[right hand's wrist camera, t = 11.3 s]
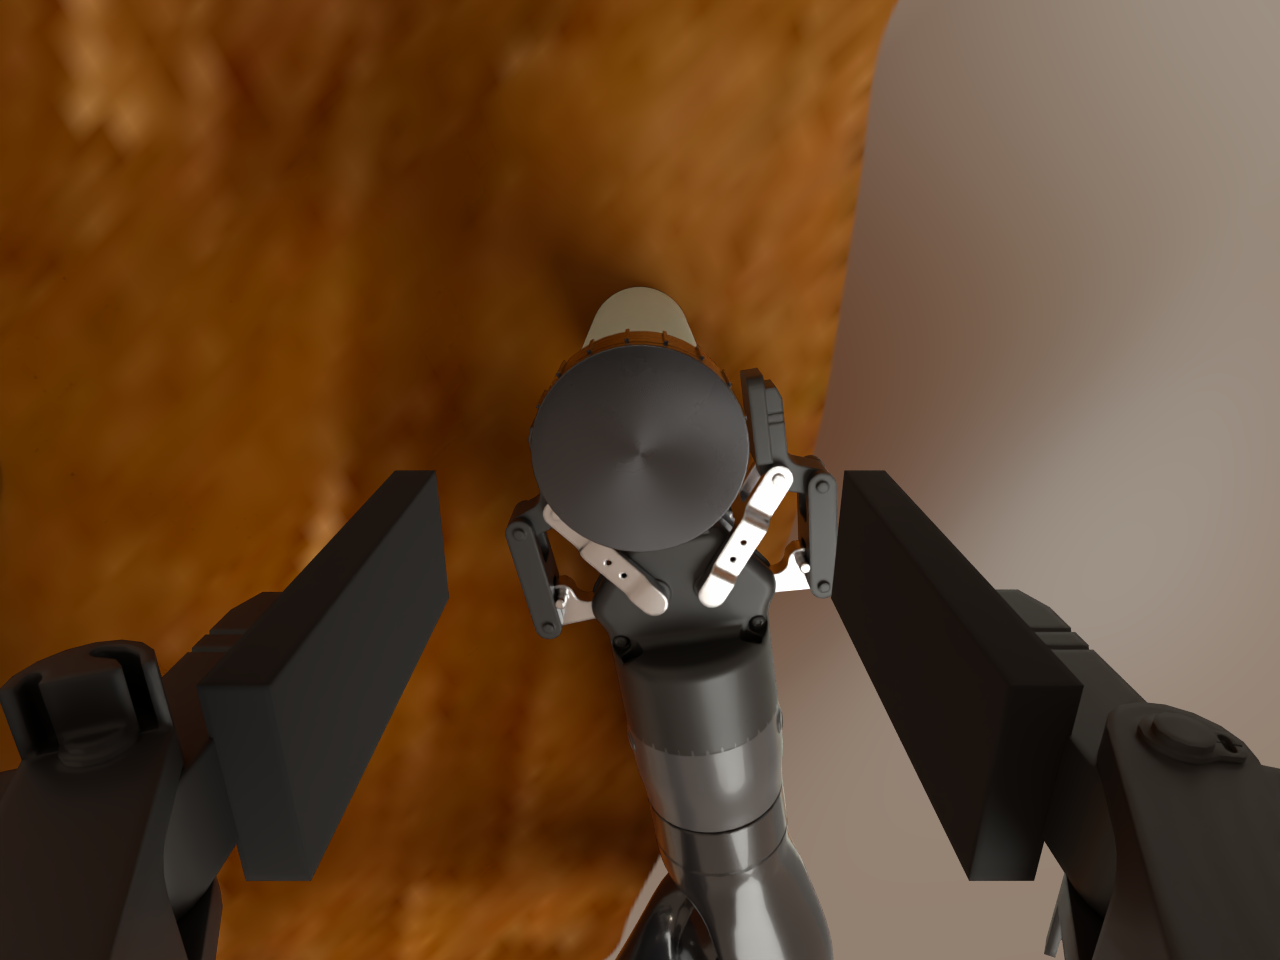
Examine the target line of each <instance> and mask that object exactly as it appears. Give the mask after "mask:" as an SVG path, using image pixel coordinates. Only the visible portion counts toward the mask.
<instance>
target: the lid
mask: <svg viewBox="0 0 1280 960" xmlns="http://www.w3.org/2000/svg"><path fill="white" fill-rule="evenodd" d="M730 386H732V384H731V382H730V380H729V378H728V376H727V374H726V372H725V371H724V370H722V371H720V369H719V368H718V367H717V365H716V364H715V363H714V362H713V361H712V360H711V359H710V358H709V357H708V356H707V355H705V354H704V353H703V352H702V350H701V348H700V346H698V345H696V347H695V346H693V345H691V344H689V343H688V342H686V341H684V340H681V339H679V338H676V337H674V336H671V335H667V331H663V332H662V333H659V332H651V331H630V329H626V330H625V332H622V333H617V334H613V335H610V336H606V337H604V338H601V339H599V340H597V341H595V340H594V339H592V340H590V343H589V345H587V346H586V347H584V348H582V349H581V350H580V351H578V352H577V353H576V354H575V355H573V356H572V357H571V358H570V359H569V360H568V361H567V362H566V361H565V360H564V361H563V362H562V364H561V366H560V368H559V370H558V372H557V374H556V376H555V378H554V380H553V381H552V383H551V385H550V387H549V389H548V391H546V390H545V391H544V393H543V395H542V397H541V398H540V400H539V402H538V404H537V407H536V408H538V412H537V415H536V418H535V420H534V425H533V430H532V435H531V439H530V444H531V462H532V466H533V471H534V475H535V478H536V481H537V484H538V487H539V489H540V491H541V493H542V495H543V497H544V499H545V500H546V502H547V503H548V505H549V506H550V508H551V509H552V510H553V512H554V513H555V514H556V515H557V516H558V517H559V518H560V519H561V520H562V521H563V522H564V523H565V524H566V525H567V526H568V527H570V528H571V529H572V530H573V531H575V532H576V533H578V534H579V535H581V536H582V537H584V538H586V539H588V540H590V541H592V542H594V543H597V544H599V545H602V546H605V547H608V548H612V549H616V550H621V551H630V552H651V551H659V550H664V549H668V548H672V547H675V546H678V545H681V544H683V543H686V542H688V541H690V540H692V539H694V538H696V537H698V536H699V535H701V534H702V533H704V532H705V531H706V530H708V529H709V528H711V527H712V526H713V525H714V524H715V523H716V522H717V521H718V520H720V519H721V517H722V516H723V515H724V514H725V513H726V512H727V510H728V509H729V508H730V506H731V505H732V503H733V502H734V500H735V499H736V497H737V495H738V493H739V491H740V489H741V487H742V484H743V481H744V478H745V475H746V472H747V467H748V461H749V454H750V452H749V435H748V429H747V425H746V421H745V420H747V416H746V414H745V412H744V410H743V408H742V406H741V404H740V402H739V401H737V399H736V397H735V395H734V393H733V391H732V389H731V387H730Z"/></svg>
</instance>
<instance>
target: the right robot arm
mask: <svg viewBox="0 0 1280 960" xmlns="http://www.w3.org/2000/svg"><path fill="white" fill-rule="evenodd" d="M448 599H449V594H448V584H447V575H446V565H445V556H444V546H443V537H442V527H441V518H440V508H439V499H438V489H437V480H436V471H394V472H393V474H392V475H391V476H390V477H389V478H388V479H387V480H386V481H385V482H384V483H383V484H382V485H381V487H380V488H379V489H378V490H377V491H376V492H375V493H374V494H373V495H372V496H371V497H370V498H369V499H368V501H367V502H366V503H365V504H364V505H363V506H362V507H361V508H360V509H359V510H358V511H357V512H356V513H355V515H354V516H353V517H352V518H351V519H350V520H349V521H348V522H347V523H346V524H345V525H344V526H343V527H342V529H341V530H340V531H339V532H338V533H337V534H336V535H335V536H334V537H333V538H332V539H331V540H330V541H329V543H328V544H327V545H326V546H325V547H324V548H323V549H322V550H321V551H320V552H319V553H318V554H317V555H316V557H315V558H314V559H313V560H312V561H311V562H310V563H309V564H308V565H307V566H306V567H305V568H304V569H303V571H302V572H301V573H300V574H299V575H298V576H297V577H296V578H295V579H294V580H293V581H292V582H291V584H290V585H289V586H288V587H287V588H286V589H285V590H284V591H283V592H262V593H260V594H258V595H256V596H255V597H253V598H251V599H249V600H247V601H246V602H244V603H242V604H240V605H239V606H237V607H235V608H233V609H231V610H230V611H229V612H228V613H227V614H226V615H225V616H224V617H223V618H222V619H221V620H220V621H219V622H218V623H217V624H216V625H215V626H214V627H213V628H212V629H211V630H210V634H209V635H205V636H204V637H203V638H202V639H201V640H200V641H199V642H198V643H197V644H196V645H195V646H194V647H193V648H192V652H187V653H186V654H185V655H184V656H183V657H182V658H181V659H180V660H179V661H178V662H177V663H176V664H175V665H174V666H173V667H172V668H171V669H170V670H169V671H168V672H167V673H166V674H165V675H164V676H163V677H161V673H160V670H159V666H158V662H157V659H156V655H155V651H154V649H152V648H150V647H149V646H147V645H146V644H144V643H143V642H136V641H128V640H114V641H104V642H95V643H91V644H87V645H83V646H79V647H76V648H72V649H68V650H65V651H62V652H60V653H57V654H55V655H52V656H50V657H47V658H45V659H43V660H40V661H38V662H36V663H34V664H32V665H31V666H29V667H27V668H26V669H24V670H22V671H21V672H19V673H17V674H16V675H14V676H12V677H11V678H10V679H9V680H8V681H7V682H6V683H5V684H4V685H3V686H2V687H1V688H0V703H1V705H2V708H3V711H4V713H5V716H6V719H7V721H8V724H9V727H10V729H11V732H12V735H13V737H14V740H15V743H16V746H17V748H18V751H19V754H20V756H21V759H22V761H21V763H20V765H19V767H18V769H14V770H9V771H4V772H0V960H215V959H216V951H217V944H218V937H219V929H220V922H221V914H222V907H223V906H222V899H221V892H220V888H219V884H218V880H217V877H216V875H217V873H218V872H219V870H220V869H221V867H222V865H223V864H224V862H225V861H226V859H227V858H228V856H229V854H230V853H231V851H232V850H233V848H234V847H235V845H236V844H237V848H238V852H239V856H240V859H241V863H242V867H243V871H244V875H245V879H246V881H311V879H312V877H313V875H314V873H315V871H316V869H317V867H318V865H319V863H320V861H321V859H322V857H323V855H324V853H325V851H326V849H327V847H328V844H329V842H330V840H331V838H332V836H333V834H334V832H335V830H336V828H337V826H338V824H339V822H340V820H341V818H342V816H343V814H344V812H345V810H346V808H347V806H348V804H349V801H350V799H351V797H352V795H353V793H354V791H355V789H356V787H357V785H358V783H359V781H360V779H361V777H362V775H363V773H364V771H365V769H366V767H367V765H368V763H369V761H370V759H371V756H372V754H373V752H374V750H375V748H376V746H377V744H378V742H379V740H380V738H381V736H382V734H383V732H384V730H385V728H386V726H387V724H388V722H389V720H390V718H391V716H392V713H393V711H394V709H395V707H396V705H397V703H398V701H399V699H400V697H401V695H402V693H403V691H404V689H405V687H406V685H407V683H408V681H409V679H410V677H411V675H412V673H413V670H414V668H415V666H416V664H417V662H418V660H419V658H420V656H421V654H422V652H423V650H424V648H425V646H426V644H427V642H428V640H429V638H430V636H431V634H432V632H433V630H434V628H435V625H436V623H437V621H438V619H439V617H440V615H441V613H442V611H443V609H444V607H445V605H446V603H447V601H448ZM831 599H832V601H833V603H834V605H835V607H836V609H837V611H838V613H839V615H840V617H841V619H842V621H843V623H844V625H845V627H846V630H847V632H848V633H849V636H850V638H851V640H852V642H853V644H854V646H855V648H856V650H857V652H858V654H859V656H860V658H861V660H862V662H863V664H864V666H865V668H866V670H867V673H868V675H869V677H870V679H871V681H872V683H873V685H874V687H875V689H876V691H877V693H878V695H879V697H880V699H881V701H882V703H883V705H884V707H885V709H886V711H887V713H888V715H889V718H890V720H891V722H892V724H893V726H894V728H895V730H896V732H897V734H898V736H899V738H900V740H901V742H902V744H903V746H904V748H905V750H906V752H907V754H908V756H909V758H910V760H911V763H912V765H913V767H914V769H915V771H916V773H917V775H918V777H919V779H920V781H921V783H922V785H923V787H924V789H925V791H926V793H927V795H928V797H929V799H930V801H931V804H932V806H933V808H934V810H935V812H936V814H937V816H938V818H939V820H940V822H941V824H942V826H943V828H944V830H945V832H946V834H947V836H948V838H949V840H950V842H951V844H952V846H953V849H954V851H955V853H956V855H957V857H958V859H959V861H960V863H961V865H962V867H963V869H964V871H965V873H966V875H967V877H968V879H969V881H1034V879H1035V875H1036V871H1037V867H1038V863H1039V859H1040V855H1041V852H1042V848H1043V844H1044V841H1045V843H1046V844H1047V846H1048V847H1049V849H1050V851H1051V852H1052V854H1053V855H1054V857H1055V858H1056V860H1057V862H1058V863H1059V865H1060V866H1061V868H1062V869H1063V871H1064V877H1063V880H1062V884H1061V888H1060V892H1059V895H1058V899H1057V902H1056V906H1055V909H1054V913H1053V917H1052V920H1051V924H1050V928H1049V931H1048V935H1047V939H1046V946H1045V952H1044V954H1046V955H1049V956H1052V957H1055V956H1056V953H1057V949H1058V946H1059V942H1060V941H1061V940H1062V942H1063V949H1064V957H1065V960H1280V769H1278V768H1273V767H1268V766H1263V765H1261V764H1260V762H1259V760H1258V759H1257V757H1256V756H1255V755H1254V754H1253V753H1252V751H1251V750H1250V749H1249V748H1248V747H1247V745H1246V744H1245V743H1244V742H1243V741H1241V740H1240V739H1239V738H1237V737H1236V736H1234V735H1233V734H1231V733H1230V732H1229V731H1227V730H1226V729H1224V728H1223V727H1222V726H1220V725H1218V724H1216V723H1213V722H1211V721H1209V720H1207V719H1205V718H1203V717H1201V716H1199V715H1196V714H1194V713H1192V712H1188V711H1185V710H1181V709H1178V708H1175V707H1171V706H1168V705H1163V704H1155V703H1147V702H1146V701H1145V700H1144V699H1143V698H1142V697H1141V696H1140V695H1139V694H1138V693H1137V692H1136V691H1135V690H1134V689H1133V688H1132V687H1131V686H1130V685H1129V684H1128V683H1127V682H1126V681H1125V680H1124V679H1122V677H1121V676H1120V675H1119V674H1117V673H1116V672H1115V671H1114V670H1113V669H1112V668H1111V667H1110V666H1109V665H1108V664H1107V663H1106V662H1105V661H1104V660H1103V659H1102V658H1101V657H1100V656H1099V655H1098V654H1097V653H1096V652H1095V651H1094V650H1089V645H1088V644H1087V643H1086V642H1085V641H1084V640H1083V639H1082V638H1081V637H1080V636H1078V634H1077V633H1075V632H1071V628H1070V627H1069V626H1068V625H1067V624H1066V623H1065V622H1064V621H1063V620H1062V619H1061V618H1060V617H1059V616H1058V615H1057V614H1056V613H1055V612H1054V611H1053V610H1052V609H1051V608H1050V607H1048V606H1047V605H1045V604H1043V603H1041V602H1039V601H1038V600H1036V599H1034V598H1032V597H1030V596H1029V595H1027V594H1025V593H1023V592H1021V591H1020V590H995V589H994V588H993V587H992V586H991V585H990V584H989V582H988V581H987V580H986V579H985V578H984V577H983V576H982V575H981V574H980V573H979V572H978V571H977V569H976V568H975V567H974V566H973V565H972V564H971V563H970V562H969V561H968V560H967V559H966V558H965V557H964V556H963V554H962V553H961V552H960V551H959V550H958V549H957V548H956V547H955V546H954V545H953V544H952V543H951V541H950V540H949V539H948V538H947V537H946V536H945V535H944V534H943V533H942V532H941V531H940V530H939V529H938V527H937V526H936V525H935V524H934V523H933V522H932V521H931V520H930V519H929V518H928V517H927V516H926V515H925V513H924V512H923V511H922V510H921V509H920V508H919V507H918V506H917V505H916V504H915V503H914V502H913V501H912V499H911V498H910V497H909V496H908V495H907V494H906V493H905V492H904V491H903V490H902V489H901V488H900V487H899V485H898V484H897V483H896V482H895V481H894V480H893V479H892V478H891V477H890V476H889V475H888V474H887V472H886V471H844V480H843V489H842V499H841V508H840V518H839V527H838V537H837V546H836V556H835V565H834V575H833V584H832V594H831Z"/></svg>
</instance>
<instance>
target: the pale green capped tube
mask: <svg viewBox="0 0 1280 960" xmlns="http://www.w3.org/2000/svg"><path fill="white" fill-rule="evenodd" d="M626 329H630V331H651V332H659V333H662V332H663V331H667V335H671V336H674V337H676V338H679V339H681V340H684V341H686V342H688V343H689V344H691V345H693V346H695V347H696V342H695V340H694V337H693V335H692V332H691V330H690V328H689V325H688V323H687V320H686V318H685V315H684V314H683V312H682V310H681V308H680V307H679V306H678V304H677V303H676V302H675V301H674V300H673V299H671V298H670V297H669V296H668V295H666V294H664V293H663V292H660V291H658V290H656V289H652V288H647V287H633V288H628V289H625V290H622V291H620V292H617V293H616V294H614V295H612V296H611V297H610V298H609V299H607V300H606V301H605V302H604V303H603V304H602V306H601V307H600V309H599V310H598V312H597V314H596V315H595V318H594V320H593V323H592V325H591V328H590V330H589V332H588V335H587V337H586V340H585V342H584V345H583V347H582V348H584V347H586V346H587V345H589V343H590V340H592V339H594V340H595V341H597V340H599V339H601V338H604V337H606V336H610V335H613V334H617V333H622V332H625V330H626Z"/></svg>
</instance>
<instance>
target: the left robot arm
mask: <svg viewBox="0 0 1280 960" xmlns="http://www.w3.org/2000/svg"><path fill="white" fill-rule="evenodd" d="M740 377H741V386H742V394H743V403H744V411H745V414H746V416H747V420H746V425H747V429H748V435H749V450H750V453H751V455H752V457H753V459H754V462H753V463H752V465H751V466H750V468H749V470H748V471H747V473H746V475H745V478H744V481H743V484H742V487H741V489H740V491H739V493H738V495H737V497H736V499H735V500H734V502H733V503H732V505H731V506H730V508H729V509H728V510H727V512H726V513H725V514H724V515H723V516H722V517H721V519H720V520H718V521H717V522H716V523H715V524H714V525H713V526H712V527H711V528H709V529H708V530H706V531H705V532H704V533H702V534H701V535H699V536H698V537H696V538H694V539H692V540H690V541H688V542H686V543H683V544H681V545H678V546H675V547H672V548H668V549H664V550H659V551H651V552H630V551H621V550H616V549H612V548H608V547H605V546H602V545H599V544H597V543H594V542H592V541H590V540H588V539H586V538H584V537H582V536H581V535H579V534H578V533H576V532H575V531H573V530H572V529H571V528H570V527H568V526H567V525H566V524H565V523H564V522H563V521H562V520H561V519H560V518H559V517H558V516H557V515H556V514H555V513H554V512H553V510H552V509H551V508H550V506H549V505H548V503H547V502H546V500H545V499H544V497H543V495H542V493H541V491H540V494H539V495H538V496H536V497H534V498H533V499H531V500H529V501H528V500H525V501H521V502H519V503H518V504H517V505H516V506H515V509H514V511H513V514H512V516H511V519H510V521H509V524H508V526H507V529H506V532H505V535H506V539H507V542H508V545H509V548H510V551H511V554H512V558H513V561H514V564H515V567H516V570H517V573H518V576H519V579H520V582H521V586H522V589H523V592H524V595H525V598H526V601H527V604H528V607H529V610H530V613H531V617H532V620H533V623H534V626H535V629H536V632H537V633H538V634H539V635H540V636H541V637H543V638H545V639H553V638H556V637H557V636H559V635H560V633H561V631H562V626H563V625H565V624H570V623H575V622H580V621H585V620H590V619H595V618H596V620H597V621H598V622H599V623H600V624H601V625H602V626H603V627H604V628H605V630H606V631H607V633H608V635H609V638H610V642H611V647H612V652H613V657H614V662H615V666H616V671H617V676H618V681H619V686H620V690H621V695H622V700H623V705H624V709H625V714H626V719H627V724H628V727H627V731H628V732H627V735H628V740H629V743H630V746H631V749H633V753H634V757H635V761H636V764H637V767H638V770H639V773H640V776H641V778H642V781H643V783H644V786H645V788H646V792H647V795H648V800H649V805H650V810H651V815H652V820H653V825H654V830H655V835H656V839H657V843H658V847H659V851H660V854H661V857H662V860H663V862H664V865H665V867H666V869H667V871H668V874H667V875H666V876H665V877H664V879H663V880H662V881H661V883H660V884H659V886H658V887H657V889H656V890H655V892H654V894H653V895H652V897H651V899H650V901H649V903H648V904H647V906H646V908H645V910H644V911H643V913H642V915H641V917H640V919H639V920H638V922H637V924H636V926H635V928H634V929H633V931H632V933H631V934H630V936H629V938H628V940H627V941H626V943H625V945H624V946H623V948H622V950H621V951H620V953H619V954H618V956H617V958H616V959H615V960H833V949H832V942H831V937H830V933H829V929H828V926H827V922H826V919H825V916H824V913H823V910H822V907H821V905H820V902H819V900H818V898H817V895H816V893H815V890H814V888H813V885H812V883H811V881H810V878H809V876H808V873H807V871H806V868H805V866H804V863H803V861H802V859H801V857H800V855H799V853H798V851H797V849H796V847H795V845H794V843H793V841H792V839H791V837H790V834H789V832H788V823H787V813H786V804H785V796H784V788H783V779H782V753H783V738H782V727H783V717H782V709H781V708H780V706H779V702H778V693H777V685H776V676H775V668H774V659H773V651H772V642H771V634H770V625H769V617H768V610H769V606H770V603H771V600H772V598H773V596H774V594H775V592H780V591H790V590H801V589H810V590H811V592H812V593H813V595H815V596H816V597H818V598H828V597H830V596H831V594H832V584H833V575H834V565H835V556H836V546H837V483H836V480H835V479H834V477H833V476H832V475H831V473H829V472H828V471H827V469H826V468H825V465H824V464H823V462H822V461H821V460H820V459H819V458H818V457H817V456H813V455H808V456H805V457H800V456H794V455H791V454H789V453H787V444H786V433H785V423H784V413H783V403H782V397H781V395H780V394H779V392H778V390H777V388H776V387H775V385H774V384H773V383H772V381H771V380H764V379H763V376H762V374H761V373H760V371H759V370H758V369H757V368H753V369H747V370H741V371H740ZM534 420H535V419H534ZM533 425H534V421H533V423H532V425H531V427H530V433H529V438H528V441H529V445H530V450H531V444H530V439H531V435H532V430H533ZM787 491H791V492H797V508H798V540H796V541H792V542H791V543H790V544H788V545H787V547H786V549H785V553H784V557H783V559H782V560H781V561H780V562H779V563H777V564H775V565H770V563H769V562H768V561H767V559H766V558H765V557H764V556H763V555H761V554H760V553H759V552H758V551H757V550H756V547H757V546H758V544H759V543H760V541H761V540H762V538H763V537H764V535H765V533H766V532H767V530H768V527H769V523H770V519H771V516H772V515H773V513H774V512H775V510H776V508H777V507H778V505H779V504H780V502H781V501H782V499H783V498H784V496H785V495H786V493H787ZM551 528H554V529H555V530H556V531H557V532H559V533H560V534H561V535H562V536H563V537H565V538H566V539H567V540H568V541H569V542H571V543H572V544H573V545H574V546H575V547H576V548H577V549H578V551H579V553H580V555H581V556H582V558H583V559H584V560H585V561H587V562H588V563H589V564H590V565H591V566H593V567H594V568H595V569H596V570H597V571H599V572H600V573H601V574H600V576H599V578H598V580H597V581H596V583H595V585H594V588H593V592H584V591H582V590H580V589H579V588H578V587H577V586H576V584H575V582H574V580H573V579H571V578H570V577H568V576H566V575H563V576H559V573H558V569H557V566H556V563H555V559H554V556H553V553H552V549H551V546H550V543H549V539H548V536H547V533H546V531H547V530H549V529H551Z"/></svg>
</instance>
